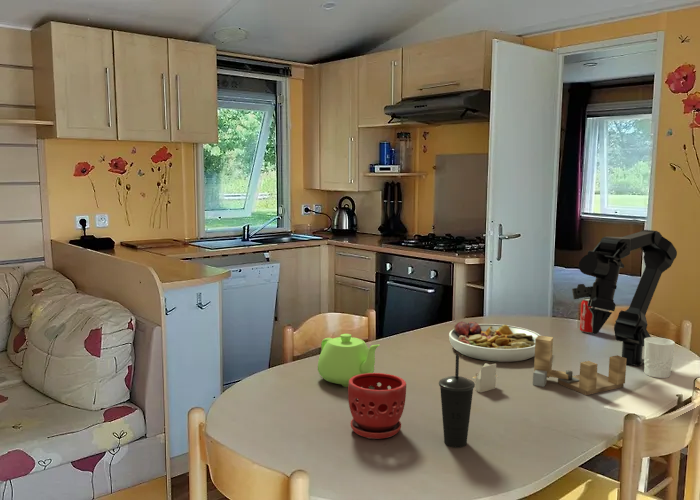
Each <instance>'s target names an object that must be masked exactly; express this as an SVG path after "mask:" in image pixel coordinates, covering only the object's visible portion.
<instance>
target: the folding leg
mask: <svg viewBox="0 0 700 500" xmlns="http://www.w3.org/2000/svg"><path fill="white" fill-rule="evenodd" d="M553 346H554V337H553V336H546V335H545V336H544V335H541V336H538V337H537V338H536V339H535V356H534V363H533V367H534V368H533V372H534V371H535V370H542V371H547V378H549V379H550V378H556V379H558V378H561V379H567V380H571V379H572V376H573V370H565V371H562V370H555V369H553V367H552V366H553V364H552V363H553V352H554V351H553V349H554V347H553Z"/></svg>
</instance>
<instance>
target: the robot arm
mask: <svg viewBox="0 0 700 500" xmlns="http://www.w3.org/2000/svg"><path fill="white" fill-rule="evenodd" d="M637 249H638V250H639V249H640V250H641V251H642V253H643V261H644V265H645V267H644V270H643V272H642V275H641V277H640V279H639V281H638V284H637V287H636V289H635V292H634V295H633V296H632V300H631V301H630V305H629V306H628V308H627V309H625V310H622V309H621V310H620V311H618V312H619V313H618V315H617V318H616V320H615V323H614V326H613V329H614V330H613V331H614V336H615V341H618V342H622V343H621V344H622V346H621V357H624V358H627V360H626V365H631V366H637V367H641V366H642V365H643V364H644V358H643V352H644V339H645V338H648V337H652V336H651V335H650V333H649V332H648V330H647V329H648V322H647V321H648V320H647V318H646V317H647V316H646V314H647V311H648V310H649V307H650V304H651V302H652V299H653V296H654V294H655V291H656V289H657V286H658V284H659V281H660V280H661V276H662V274H663V273H665V271H667V270H668V269H669V268H671V267H672V265H673V263H674V261H675V260H676V258H677V255H678V251H677V249H676V247H675V245H674V244H673V243H672V242H671V241H670V240H669V239H667V238H665V237H664V236H663V235H662V234H661V232H660V231H658V230H651V229H644V230H640V231H639V232H635V233H632V234H631V233H630V234H628V235H624V236H603V237H602V238H601V239H600V241H599V242H598V243H597V245H596V246H595V247H594V248H593V249H592V250H588V251H587V252H588V253H587V254H586V255H584V256H583V257H581V258H580V261H579V262H578V268H579V270H580V272H581V273H582V274H584V275H586V276H589V277H594V278H595V281H594V282H592V286H591V285H590V286H586V285H585V283H579V284H577V286H576V287H574V288H572V289H571V291H572V297H573V300H579V299H583V298H590V299H589V301H588V305H587V306H590V307H591V308H589V307H588V309H589V310H590V311H591V313H592V333H591V334H594V335H598V333H599V332H600V331H601V329H602V328H603V326H604V325H605V324H606V322H607V320H608V319H609V318H610V316H611V315H612V314H613V312H615V309H616V307H617V306H616V303H615V302H614V297H615V293H616V290H617V286H618V284H617V283H618V280H619V273H620V270H621V269H624V268H625V265H624V263H623V262H622V259H624V258H626V257H628V256H630V255H631V252H632V251H634V250H637ZM610 311H611V312H610Z"/></svg>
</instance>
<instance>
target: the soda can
mask: <svg viewBox="0 0 700 500" xmlns="http://www.w3.org/2000/svg"><path fill="white" fill-rule="evenodd" d="M589 299H590V297H585V298H582V301H581V302H580V318H579V322H580V323H579V330H580V331H581V332H582V333H585V334H593V333H592V313H591V311H590V310H589V309H588V307H589V308H591V307H590V306H587V305H588V301H589Z"/></svg>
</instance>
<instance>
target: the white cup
mask: <svg viewBox="0 0 700 500" xmlns="http://www.w3.org/2000/svg"><path fill="white" fill-rule="evenodd" d="M675 344H676V343H675V341H674V340H672V339H669V338H665V337H658V336H651V337H648V338H645V339H644V346H643V359H644V363H643V364H644V365H643V372H644V374H645V375H647V376H649V377H651V378H656V379H657V378H659V379H666V378H670V377H671V372H672V367H673V361H674V352H675V346H676V345H675Z"/></svg>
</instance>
